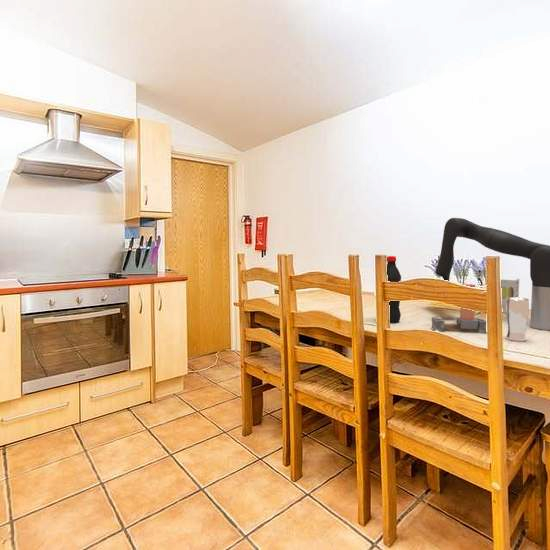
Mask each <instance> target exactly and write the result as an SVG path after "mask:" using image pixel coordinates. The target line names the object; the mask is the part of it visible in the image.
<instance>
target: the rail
mask: <svg viewBox="0 0 550 550" xmlns="http://www.w3.org/2000/svg"><path fill="white" fill-rule="evenodd" d="M474 319H476V320H478V329H462V328H460V324H457V323H456V322H455V323H451V322H450V323H448V322H446V323H445V320H444V319H443V318H442V317H439V316H435V317H431V329H432V328H433V329H434V330H433V329H432V330H433V331H435V330H438V331H444V332H466V331H478V332H477V333H479V332H480V333H479V334H487V333H486V321H487V320H485V319H484V318H483V317H474Z"/></svg>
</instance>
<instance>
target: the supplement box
mask: <svg viewBox="0 0 550 550" xmlns="http://www.w3.org/2000/svg"><path fill="white" fill-rule="evenodd" d="M500 278H501V288H502V308H503V313H502V314H506V303H507V298H509V297H518V298H519V295H520V294H519V293H520V278H516V277H515V278H514V277H500Z"/></svg>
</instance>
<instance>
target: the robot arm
mask: <svg viewBox="0 0 550 550" xmlns="http://www.w3.org/2000/svg"><path fill="white" fill-rule="evenodd" d="M457 238H464V239H469V240H473V241H475V242H477V243H479V244H480V245H481V246H483V247H484V248H487V249H489V250H492V251H494V252H497V253H499V254H504V255H510V256H515V257H521V258H525V259H528V260H530V263H529V271H530V272H529V277H530V279H531V301H530V305H531V306H530V321H529V324H530V325H529V327H531V328H532V329H538V330H542V331H543V330H544V331H550V245H548V244H543V243H539V242H535V241H532V240H529V239H527V238H524V237H521V236H518V235H516V234H512V233H510V232H507V231H503V230H501V229H496V228H492V227H486V226H482V225H479V224H477V223H475V222H472V221H470V220H468V219H466V218H461V217H452V218H449V219H448V220H447V221H446V222H445V224H444V229H443V235H442V241H441V243H442V244H441V249H440V254H439V258H438V261H437V263H436V264H437V265H436V268H435V271H434V273H435V274H436V275H437V276H439V277H441V278H442V280H443V279H444V280H448V281H449V282H450V277H451V276H450V275H451V271H452V270H453V269H452V268H453V265H454V261H455V256H454V255H455V254H454V246H455V242H456V240H457Z"/></svg>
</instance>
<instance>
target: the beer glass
mask: <svg viewBox="0 0 550 550" xmlns="http://www.w3.org/2000/svg"><path fill="white" fill-rule="evenodd" d="M529 300H530V299H529V298H527V297H526V298H525V297H519V296H518V297H509V298H507V303H506V313H505V316H506V318H505V319H506V324H507V333H506V337H505V339H506V340H509V341H514V342H526V341H527V337H526V327H527V323H528V319H529V313H530V303H529V302H530V301H529Z"/></svg>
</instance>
